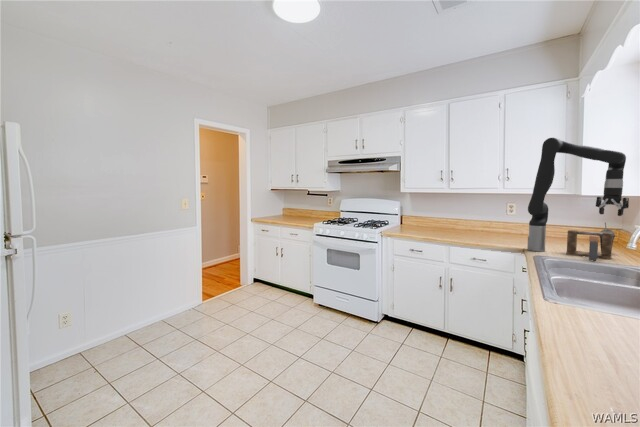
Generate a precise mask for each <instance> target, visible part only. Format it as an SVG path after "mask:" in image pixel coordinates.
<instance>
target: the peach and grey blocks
mask: <svg viewBox="0 0 640 427" xmlns="http://www.w3.org/2000/svg"><path fill="white" fill-rule="evenodd" d="M588 236H589V238H588V242H589V246H588V247H589V251H588V252H589V257H588V261H591V260H593V261H592V262H596V261H597V260H598V258H597V255H598V253H599V251H598V250H599V243H600V236H595V235H588Z"/></svg>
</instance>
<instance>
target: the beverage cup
mask: <svg viewBox="0 0 640 427" xmlns="http://www.w3.org/2000/svg"><path fill="white" fill-rule="evenodd" d="M604 226H605V229H602V230H601V231H600V232H599V233H603V232H607V233H613V236H612V247H613V245H614V240H615V237H616V235H615V232H614V231H613V230H612V229H609V228H608V229H607V222H604ZM599 244H600V253H602V236H599Z"/></svg>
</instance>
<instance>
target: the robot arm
mask: <svg viewBox="0 0 640 427" xmlns="http://www.w3.org/2000/svg"><path fill="white" fill-rule="evenodd" d="M557 154H568V155H573V156H576V157H579V158H583V159H586V160H587V159H588V160H592V161H600V162H604V163H606V164H608V166H607V170H606V173H605V179H604V185H603V196H596V199H595V200H596V201H595V207H598V208H599V209H598V214H599V215H604V214H605V207H607V206H608V205H611V206H615V207H617V208H618V210H617V216H618V217H622V216H623V215H624V210H625V209H629V206H630V205H629V203H630V200H629V197H622V195H623V188H624V171H625V170H624V169H625V166H626V160H627V156H626V154H625V153H624V152H621V151H616V150H612V149H611V150H609V149H604V148H599V147H594V146H589V145H583V144H575V143H569V142H567V141H564V140H561V138H557V137H549V138H547V139H545V140H544V141H543V144H542V146H541V157H540V161H539V165H538V169H537V172H536V176H535V181H534V186H533V189H532V195H531V198H530V200H529V203H528V206H527V211H528V213H529V215H530V216H531V219H530V220H529V222H528V225H529V226H528V236H527V251H533V252H545V251H546V236H547V232H546V231H547V222H548V218H549V206H548V203H546V202H545V197H546V195H547V193H548V192H549V190H550V189H551V187H552V185H553V181H554V179H555V178H554V177H555V171H556V169H555V160H556V156H557Z"/></svg>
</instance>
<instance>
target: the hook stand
mask: <svg viewBox="0 0 640 427" xmlns="http://www.w3.org/2000/svg"><path fill="white" fill-rule="evenodd" d="M578 235H583V236H584V235H585V236H590V235H594V236H599V237H600V236H602V253H601V252H598V255H597V259H602V260H611V259H612V257H613V256H612V254H613V253H612V251H613V246H612V236H613V233H607V232H603V233H600V232H597V231H585V230H584V231H580V230H576V229H575V230H573V229H568V230H567V240H566V242H567V243H566V253H565V255H567V256H576V257H583V256H585V258H589V251H581V250H577V249H578V248H577V243H578Z"/></svg>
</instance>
